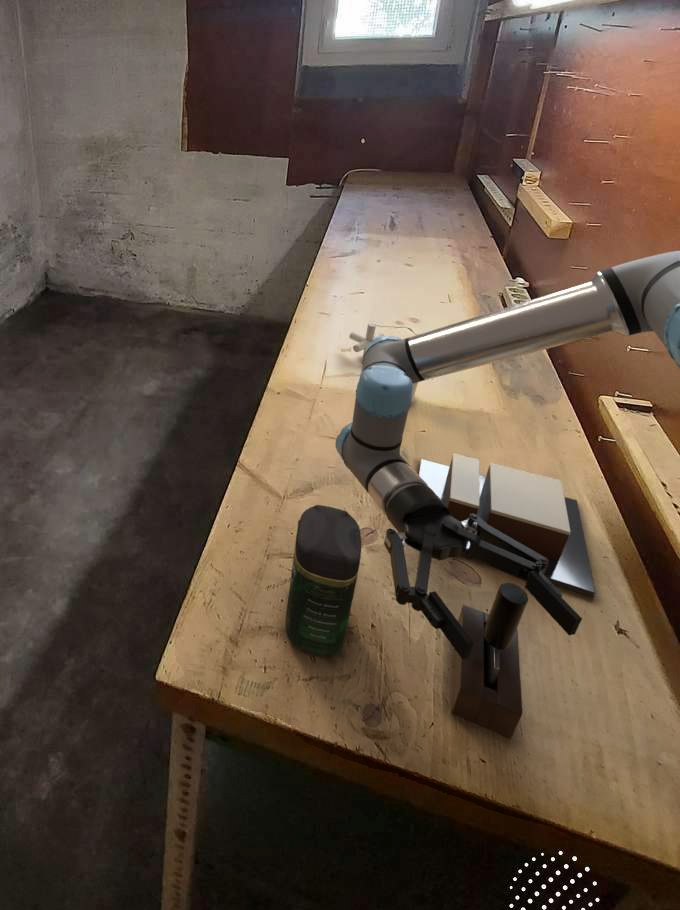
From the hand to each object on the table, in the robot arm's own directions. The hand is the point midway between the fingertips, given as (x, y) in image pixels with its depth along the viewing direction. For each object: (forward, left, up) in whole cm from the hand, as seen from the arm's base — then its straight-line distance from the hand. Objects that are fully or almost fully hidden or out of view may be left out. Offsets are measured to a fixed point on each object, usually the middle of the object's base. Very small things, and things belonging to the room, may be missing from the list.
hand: (523, 639), depth 62 cm
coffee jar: (+22, 0, -12) cm, 25 cm away
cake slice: (+5, -32, -11) cm, 34 cm away
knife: (+2, -2, -12) cm, 12 cm away
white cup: (+18, -63, -12) cm, 67 cm away
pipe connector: (+27, -77, -12) cm, 83 cm away
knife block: (+2, -2, -12) cm, 12 cm away
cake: (-3, -32, -11) cm, 34 cm away
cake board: (0, -32, -12) cm, 34 cm away
